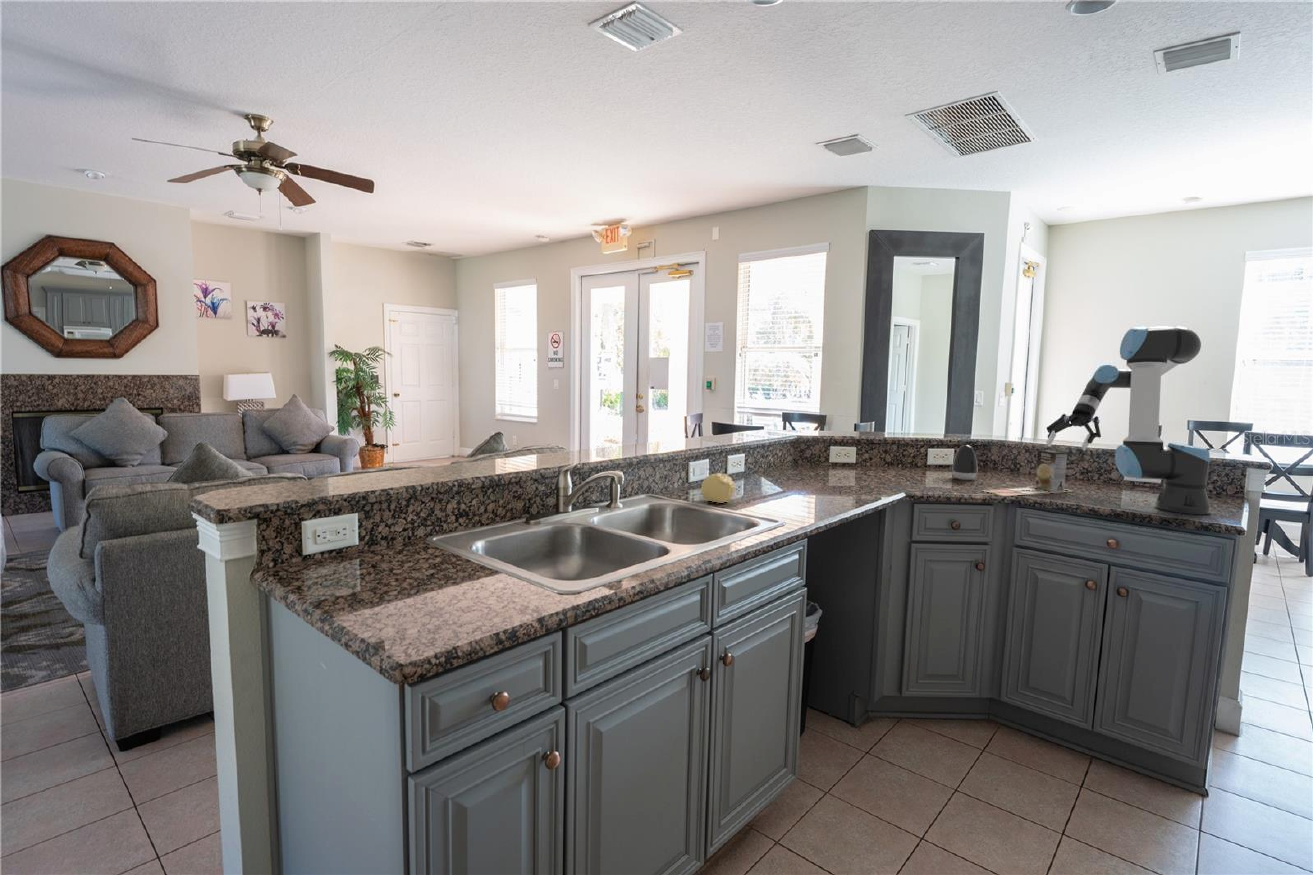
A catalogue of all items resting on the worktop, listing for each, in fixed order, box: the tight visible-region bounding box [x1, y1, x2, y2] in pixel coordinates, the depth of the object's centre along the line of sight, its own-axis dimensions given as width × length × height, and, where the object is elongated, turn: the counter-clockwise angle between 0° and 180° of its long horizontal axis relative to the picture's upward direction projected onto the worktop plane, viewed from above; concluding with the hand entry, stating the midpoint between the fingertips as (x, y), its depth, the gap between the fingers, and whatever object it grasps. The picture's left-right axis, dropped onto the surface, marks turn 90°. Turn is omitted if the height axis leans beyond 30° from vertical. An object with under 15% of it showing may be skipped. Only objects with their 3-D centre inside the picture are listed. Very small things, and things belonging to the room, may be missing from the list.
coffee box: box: [1034, 448, 1069, 492], centre depth 264 cm, size 9×6×16 cm
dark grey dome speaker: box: [951, 444, 979, 481], centre depth 287 cm, size 10×10×15 cm
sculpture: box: [700, 472, 736, 504], centre depth 236 cm, size 12×12×11 cm
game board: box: [981, 485, 1074, 498], centre depth 261 cm, size 12×35×1 cm, turn 109°
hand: (1065, 446), depth 269 cm, fingers open, 13 cm apart
